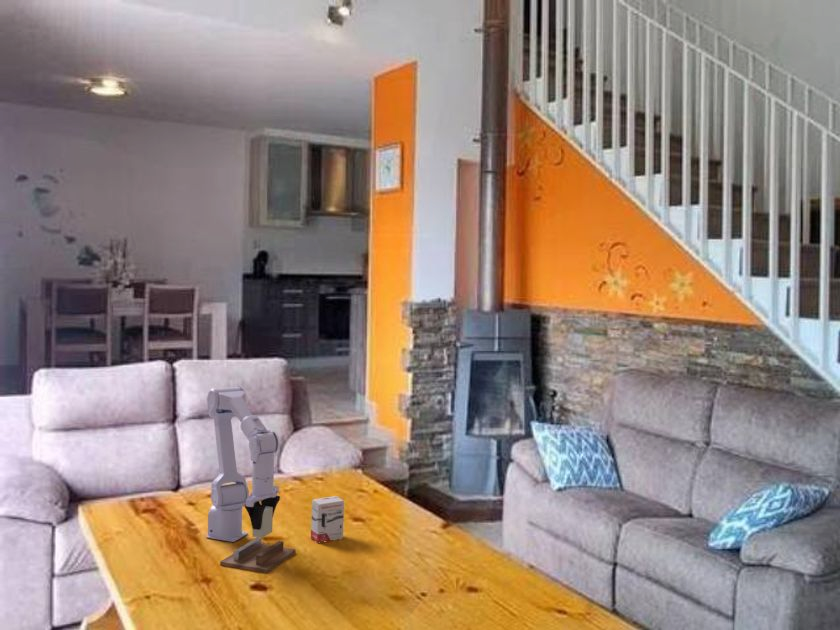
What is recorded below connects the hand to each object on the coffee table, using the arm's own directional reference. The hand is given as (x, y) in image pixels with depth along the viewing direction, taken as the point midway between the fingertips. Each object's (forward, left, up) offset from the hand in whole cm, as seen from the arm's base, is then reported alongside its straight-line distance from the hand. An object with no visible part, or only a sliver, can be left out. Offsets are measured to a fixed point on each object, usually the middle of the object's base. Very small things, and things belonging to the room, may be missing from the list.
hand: (262, 525), depth 214 cm
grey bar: (-4, -1, -9) cm, 10 cm away
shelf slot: (0, -1, -9) cm, 9 cm away
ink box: (+10, +21, -9) cm, 25 cm away
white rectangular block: (0, 0, -2) cm, 2 cm away
